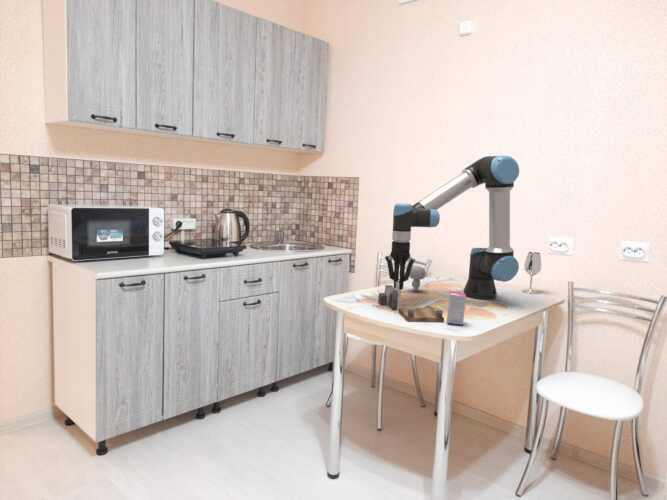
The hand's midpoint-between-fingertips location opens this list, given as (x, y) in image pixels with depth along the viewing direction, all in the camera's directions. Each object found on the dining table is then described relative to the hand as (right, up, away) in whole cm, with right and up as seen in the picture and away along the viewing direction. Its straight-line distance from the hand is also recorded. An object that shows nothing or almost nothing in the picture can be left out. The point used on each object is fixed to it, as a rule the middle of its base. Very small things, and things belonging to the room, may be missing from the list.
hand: (397, 296), depth 212 cm
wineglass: (+71, -2, +40) cm, 82 cm away
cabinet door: (+5, -6, -15) cm, 17 cm away
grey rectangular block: (-3, -3, +1) cm, 4 cm away
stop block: (-7, -3, 0) cm, 7 cm away
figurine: (+12, 0, +29) cm, 31 cm away
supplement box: (+18, -8, -23) cm, 31 cm away
